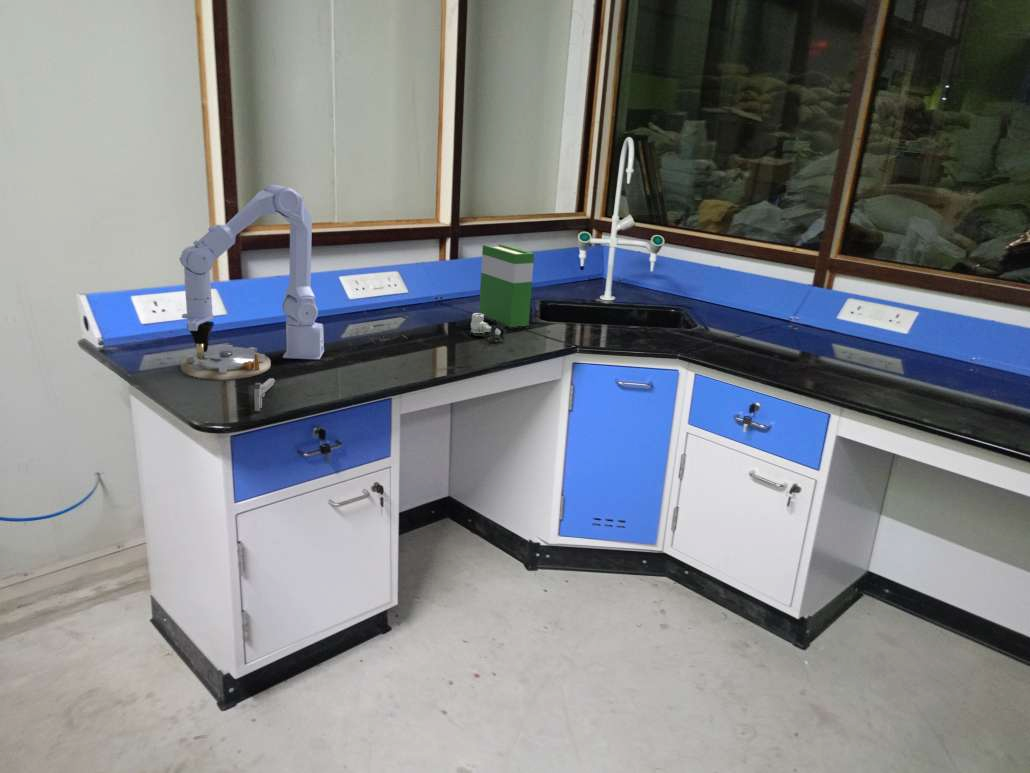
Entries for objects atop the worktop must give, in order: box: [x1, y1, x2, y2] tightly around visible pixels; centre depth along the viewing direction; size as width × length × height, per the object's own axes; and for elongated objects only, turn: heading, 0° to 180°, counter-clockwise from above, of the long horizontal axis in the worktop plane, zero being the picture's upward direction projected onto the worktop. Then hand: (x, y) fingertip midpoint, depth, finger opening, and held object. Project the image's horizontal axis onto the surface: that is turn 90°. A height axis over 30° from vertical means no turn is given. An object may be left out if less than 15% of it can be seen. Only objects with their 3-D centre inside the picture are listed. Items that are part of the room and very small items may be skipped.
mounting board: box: [180, 352, 272, 381], centre depth 190 cm, size 21×21×5 cm
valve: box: [470, 312, 508, 342], centre depth 231 cm, size 7×7×12 cm
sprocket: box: [185, 343, 266, 373], centre depth 189 cm, size 18×18×5 cm
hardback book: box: [478, 243, 535, 327], centre depth 248 cm, size 18×7×24 cm, turn 37°
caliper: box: [253, 377, 276, 412], centre depth 172 cm, size 20×1×6 cm, turn 8°
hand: (202, 351), depth 187 cm, fingers closed
